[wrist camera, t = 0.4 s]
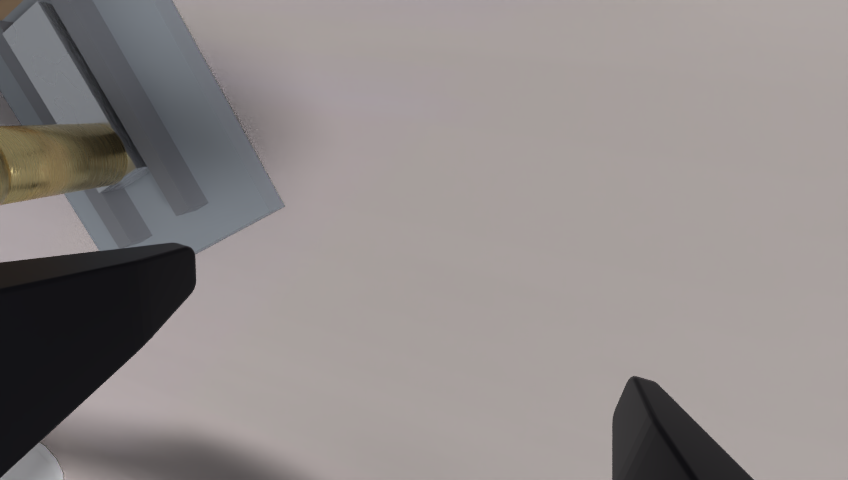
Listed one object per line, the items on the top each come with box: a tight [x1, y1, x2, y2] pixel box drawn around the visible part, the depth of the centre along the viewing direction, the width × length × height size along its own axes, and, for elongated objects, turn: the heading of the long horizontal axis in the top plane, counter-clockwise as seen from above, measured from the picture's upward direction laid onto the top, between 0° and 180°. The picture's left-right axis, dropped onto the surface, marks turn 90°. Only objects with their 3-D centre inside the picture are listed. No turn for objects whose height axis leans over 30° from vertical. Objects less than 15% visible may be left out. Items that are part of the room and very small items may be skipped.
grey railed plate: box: [0, 0, 285, 254], centre depth 24 cm, size 21×12×5 cm, turn 28°
